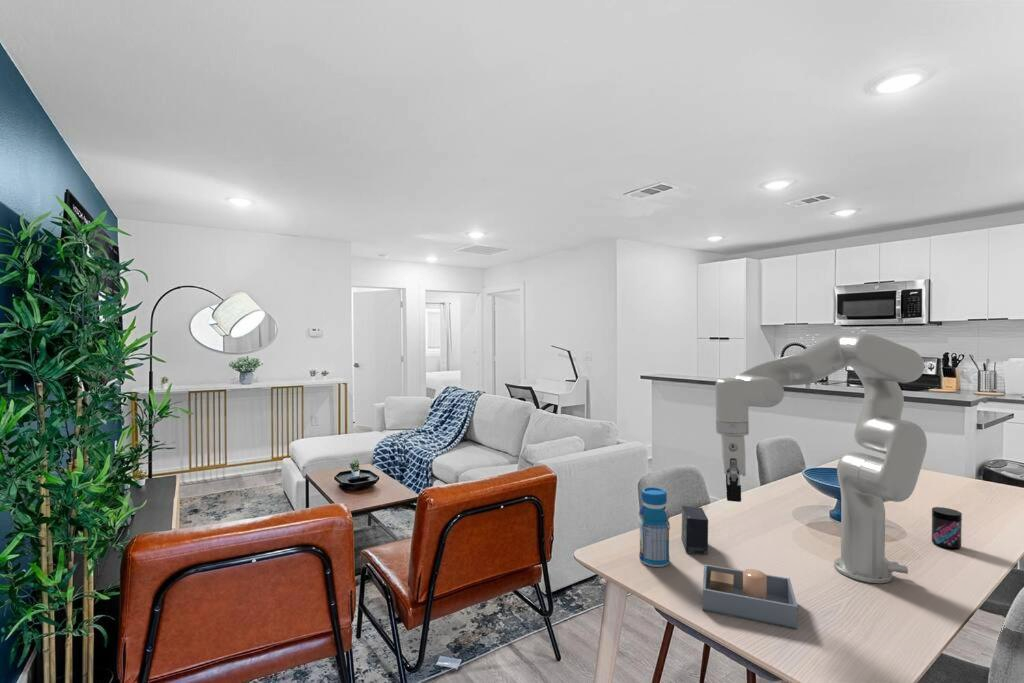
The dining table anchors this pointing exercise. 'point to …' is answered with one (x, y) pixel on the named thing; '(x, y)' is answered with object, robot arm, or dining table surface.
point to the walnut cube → (722, 582)
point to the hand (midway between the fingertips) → (733, 494)
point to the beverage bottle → (654, 528)
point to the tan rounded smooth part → (754, 584)
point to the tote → (752, 600)
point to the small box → (694, 530)
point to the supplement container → (946, 528)
